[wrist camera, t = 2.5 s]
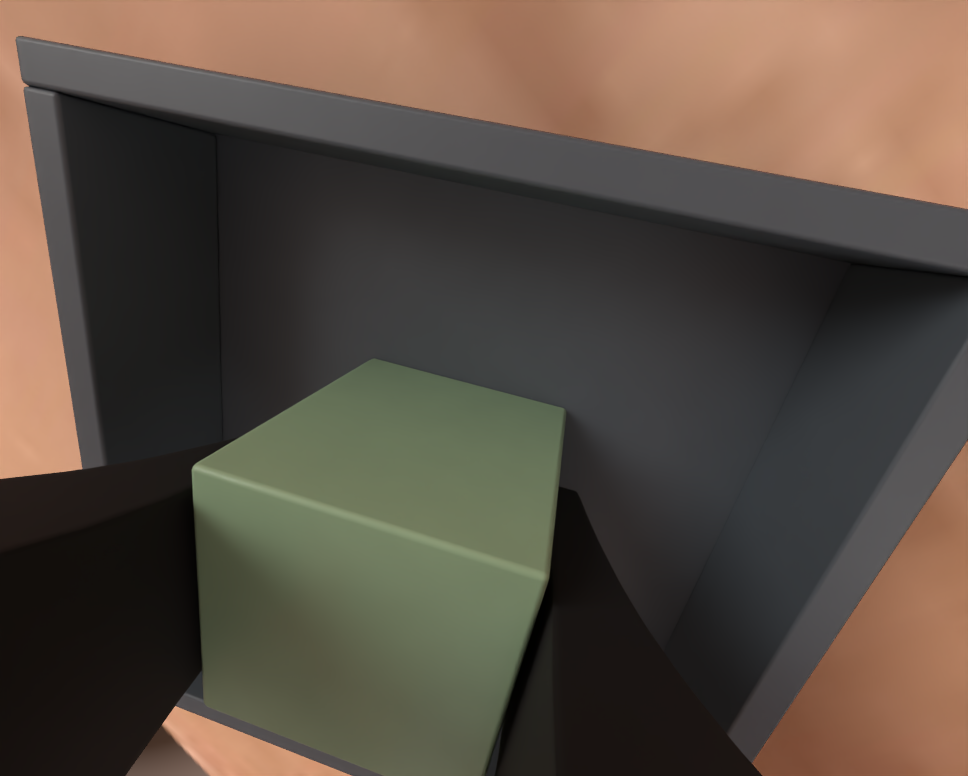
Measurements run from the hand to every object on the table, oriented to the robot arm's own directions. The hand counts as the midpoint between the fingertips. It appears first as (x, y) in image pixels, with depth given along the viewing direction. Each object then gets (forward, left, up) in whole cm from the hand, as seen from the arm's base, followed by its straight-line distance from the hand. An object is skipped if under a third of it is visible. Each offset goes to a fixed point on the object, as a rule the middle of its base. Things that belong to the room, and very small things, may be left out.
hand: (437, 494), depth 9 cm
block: (0, 0, -1) cm, 1 cm away
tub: (0, 0, -2) cm, 2 cm away
